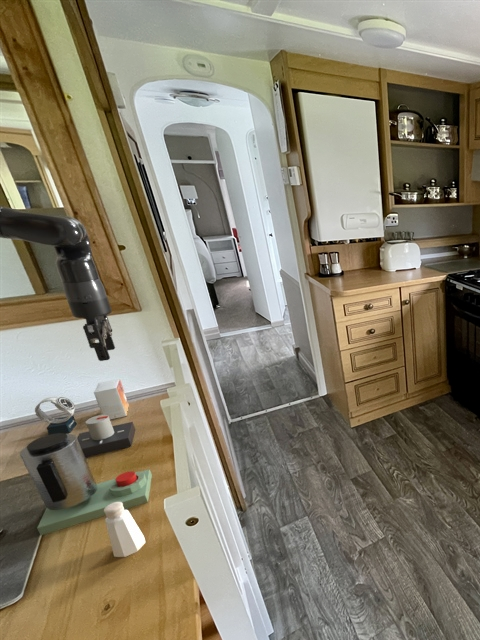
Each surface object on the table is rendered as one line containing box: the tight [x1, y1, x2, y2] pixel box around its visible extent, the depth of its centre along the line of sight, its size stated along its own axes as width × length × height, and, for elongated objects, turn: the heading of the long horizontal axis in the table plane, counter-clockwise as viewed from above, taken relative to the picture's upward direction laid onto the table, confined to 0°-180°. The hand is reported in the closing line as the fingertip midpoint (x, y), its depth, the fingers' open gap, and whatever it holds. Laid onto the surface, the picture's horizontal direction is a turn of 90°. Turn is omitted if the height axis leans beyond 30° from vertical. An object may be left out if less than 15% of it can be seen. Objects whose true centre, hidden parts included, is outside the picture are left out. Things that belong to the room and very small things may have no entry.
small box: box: [93, 379, 130, 421], centre depth 123 cm, size 8×6×10 cm
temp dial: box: [85, 414, 114, 440], centre depth 108 cm, size 5×5×6 cm
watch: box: [34, 396, 78, 435], centre depth 114 cm, size 6×8×11 cm
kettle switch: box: [114, 470, 137, 487], centre depth 90 cm, size 4×4×2 cm
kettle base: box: [36, 468, 153, 536], centre depth 88 cm, size 18×11×4 cm, turn 124°
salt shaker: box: [104, 502, 147, 558], centre depth 76 cm, size 5×5×11 cm
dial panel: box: [76, 421, 136, 459], centre depth 109 cm, size 12×10×3 cm
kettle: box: [19, 433, 98, 510], centre depth 82 cm, size 8×10×15 cm
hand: (107, 354), depth 103 cm, fingers open, 8 cm apart
